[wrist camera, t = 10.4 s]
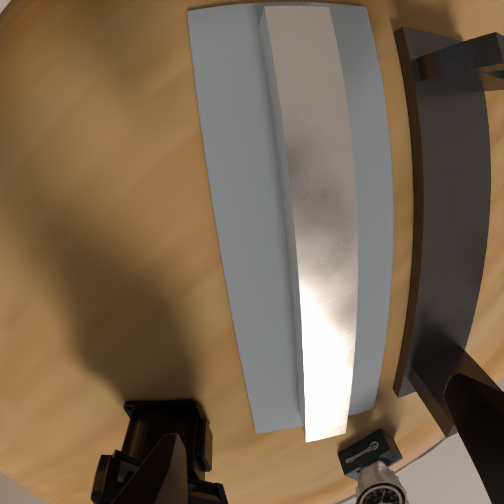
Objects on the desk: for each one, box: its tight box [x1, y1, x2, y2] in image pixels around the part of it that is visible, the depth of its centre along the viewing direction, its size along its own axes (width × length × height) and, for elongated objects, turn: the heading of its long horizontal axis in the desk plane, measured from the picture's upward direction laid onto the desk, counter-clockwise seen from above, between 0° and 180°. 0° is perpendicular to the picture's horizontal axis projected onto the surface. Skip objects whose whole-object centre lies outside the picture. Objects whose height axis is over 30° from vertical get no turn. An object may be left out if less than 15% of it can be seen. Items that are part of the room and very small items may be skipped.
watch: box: [338, 428, 409, 504], centre depth 22 cm, size 6×8×11 cm
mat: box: [187, 2, 393, 434], centre depth 18 cm, size 11×32×1 cm, turn 7°
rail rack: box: [393, 27, 504, 438], centre depth 15 cm, size 7×29×8 cm, turn 7°
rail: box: [258, 6, 358, 442], centre depth 17 cm, size 3×28×3 cm, turn 7°
